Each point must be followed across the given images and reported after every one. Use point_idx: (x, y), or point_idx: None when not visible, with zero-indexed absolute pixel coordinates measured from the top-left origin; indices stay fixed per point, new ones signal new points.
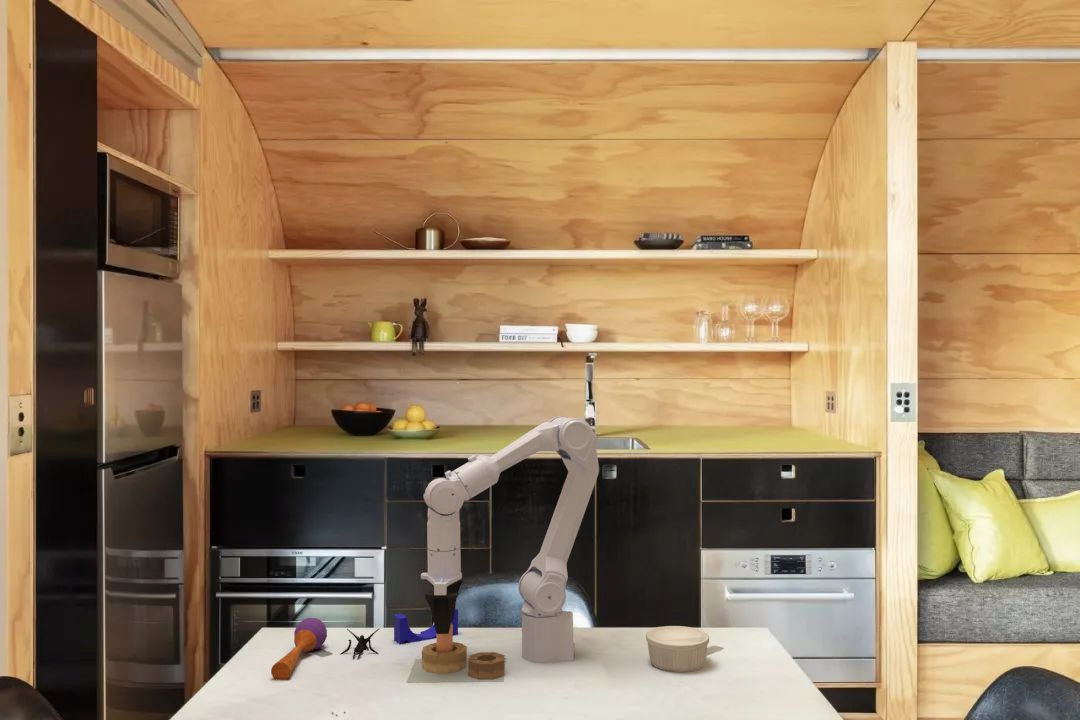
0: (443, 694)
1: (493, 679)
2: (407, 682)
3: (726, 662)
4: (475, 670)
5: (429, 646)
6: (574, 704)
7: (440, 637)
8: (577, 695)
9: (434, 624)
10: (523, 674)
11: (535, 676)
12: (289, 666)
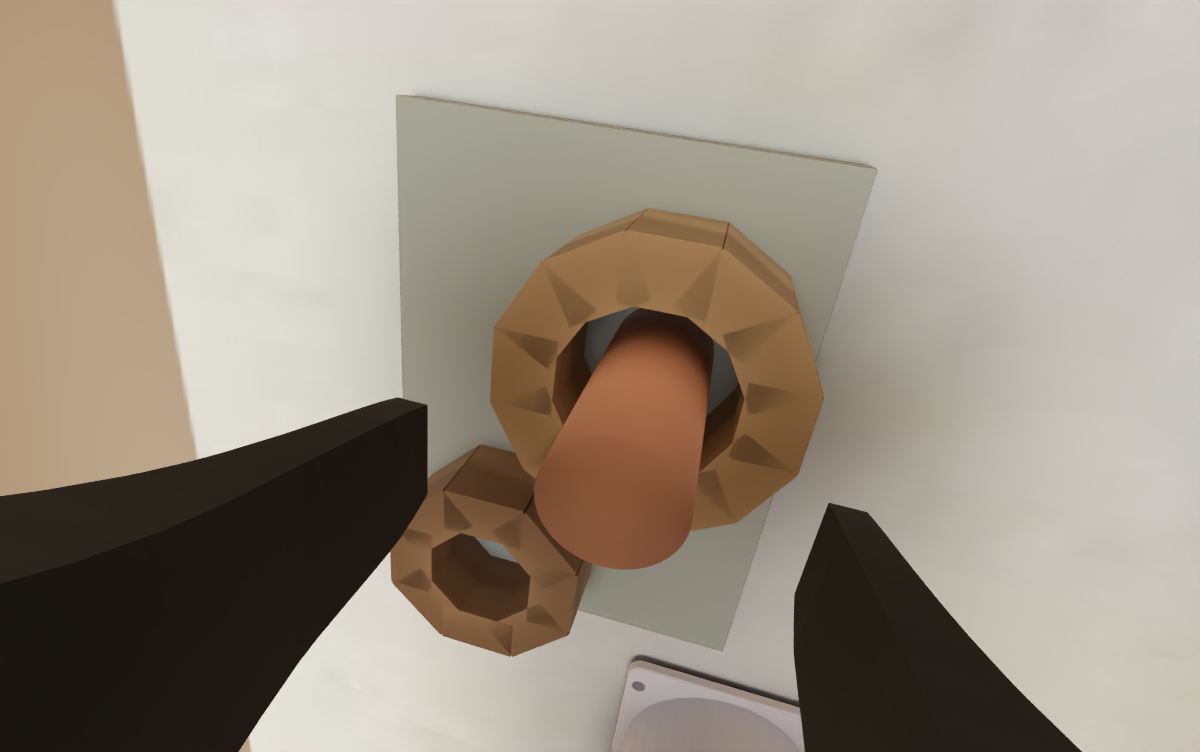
0: (344, 296)
1: None
2: (398, 103)
3: None
4: None
5: (724, 299)
6: None
7: (571, 412)
8: (352, 706)
9: (324, 422)
10: (566, 643)
11: (537, 670)
12: None
